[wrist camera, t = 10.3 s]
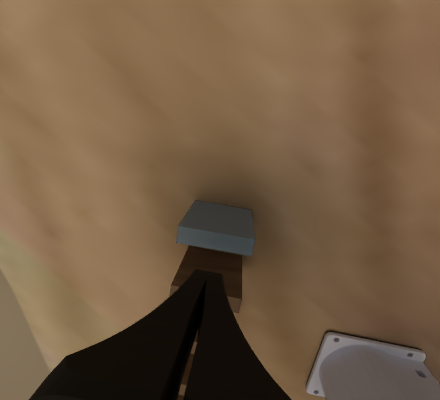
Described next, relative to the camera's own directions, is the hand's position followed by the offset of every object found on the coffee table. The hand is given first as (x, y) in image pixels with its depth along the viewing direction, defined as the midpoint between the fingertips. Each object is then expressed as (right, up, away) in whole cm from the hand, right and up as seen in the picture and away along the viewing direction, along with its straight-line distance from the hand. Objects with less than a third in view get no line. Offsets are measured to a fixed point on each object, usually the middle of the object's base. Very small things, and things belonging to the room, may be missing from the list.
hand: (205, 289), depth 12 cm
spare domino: (+1, +3, +10) cm, 10 cm away
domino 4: (0, -1, +11) cm, 11 cm away
